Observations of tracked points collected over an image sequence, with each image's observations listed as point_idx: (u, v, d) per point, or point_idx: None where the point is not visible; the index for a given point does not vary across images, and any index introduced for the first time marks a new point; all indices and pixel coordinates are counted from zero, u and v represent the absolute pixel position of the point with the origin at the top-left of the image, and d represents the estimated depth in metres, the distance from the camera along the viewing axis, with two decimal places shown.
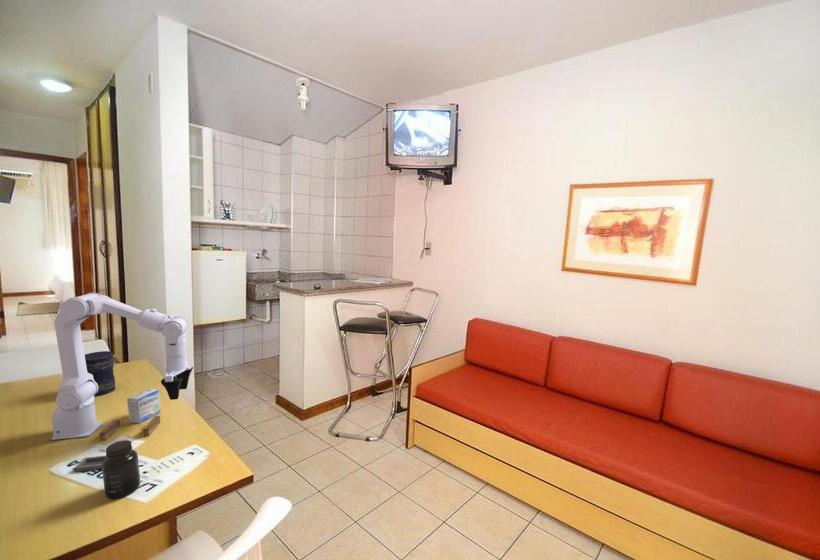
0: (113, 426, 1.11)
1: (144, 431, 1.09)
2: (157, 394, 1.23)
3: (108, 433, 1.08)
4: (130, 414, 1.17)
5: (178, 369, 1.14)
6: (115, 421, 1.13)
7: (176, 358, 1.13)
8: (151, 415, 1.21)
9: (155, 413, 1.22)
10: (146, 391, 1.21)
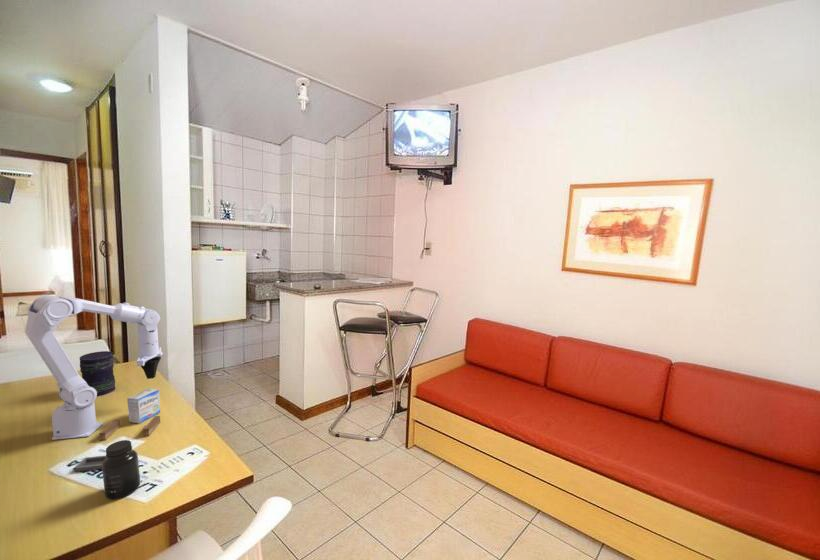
0: (113, 426, 1.11)
1: (144, 431, 1.09)
2: (157, 394, 1.23)
3: (108, 433, 1.08)
4: (130, 414, 1.17)
5: (150, 355, 1.24)
6: (115, 421, 1.13)
7: (147, 345, 1.24)
8: (151, 415, 1.21)
9: (155, 413, 1.22)
10: (146, 391, 1.21)
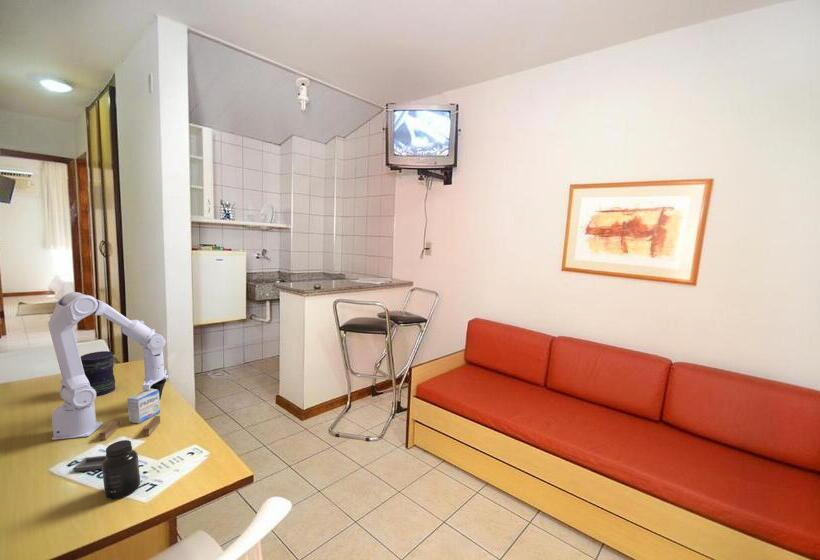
0: (113, 426, 1.11)
1: (144, 431, 1.09)
2: (157, 394, 1.23)
3: (108, 433, 1.08)
4: (130, 414, 1.17)
5: (155, 378, 1.26)
6: (115, 421, 1.13)
7: (153, 368, 1.25)
8: (151, 415, 1.21)
9: (155, 413, 1.22)
10: (146, 391, 1.21)
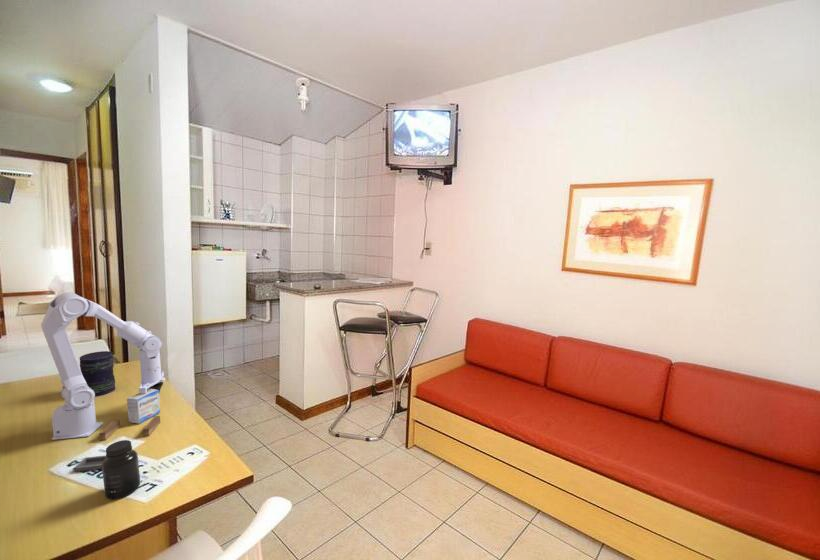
0: (113, 426, 1.11)
1: (144, 431, 1.09)
2: (157, 394, 1.22)
3: (108, 433, 1.08)
4: (130, 414, 1.17)
5: (152, 381, 1.23)
6: (115, 421, 1.13)
7: (150, 371, 1.23)
8: (151, 415, 1.20)
9: (155, 413, 1.22)
10: None
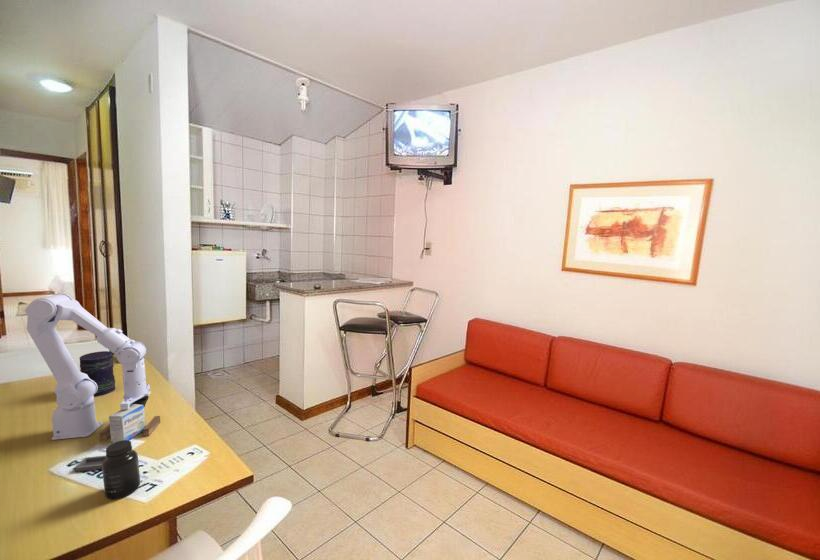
0: None
1: (144, 431, 1.09)
2: (142, 410, 1.12)
3: (108, 433, 1.08)
4: (113, 433, 1.06)
5: (136, 396, 1.12)
6: None
7: (133, 385, 1.12)
8: (136, 433, 1.10)
9: (140, 431, 1.11)
10: None
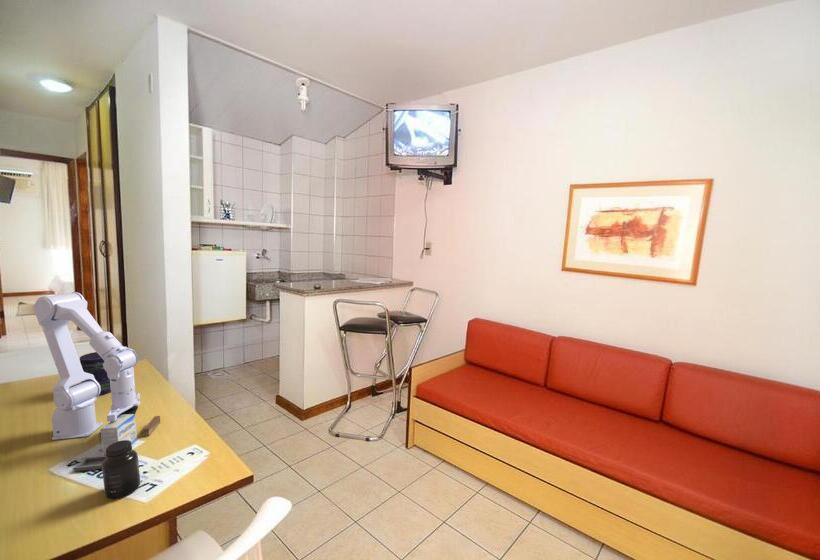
0: None
1: (144, 431, 1.09)
2: (134, 419, 1.06)
3: None
4: (105, 447, 0.99)
5: (124, 406, 1.06)
6: None
7: (121, 394, 1.05)
8: None
9: (132, 441, 1.05)
10: (120, 418, 1.04)
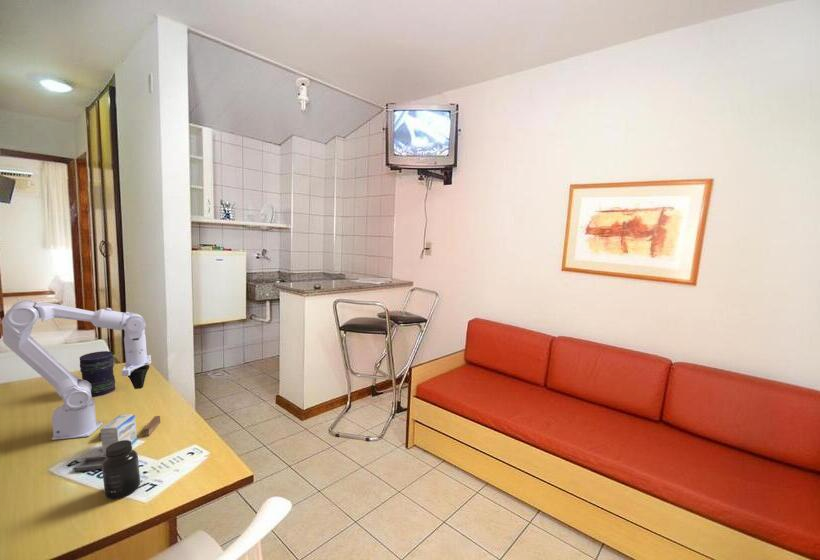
0: None
1: (144, 431, 1.09)
2: (134, 419, 1.06)
3: None
4: (105, 447, 0.99)
5: (136, 364, 1.17)
6: None
7: (134, 353, 1.16)
8: None
9: (132, 442, 1.05)
10: (120, 418, 1.04)
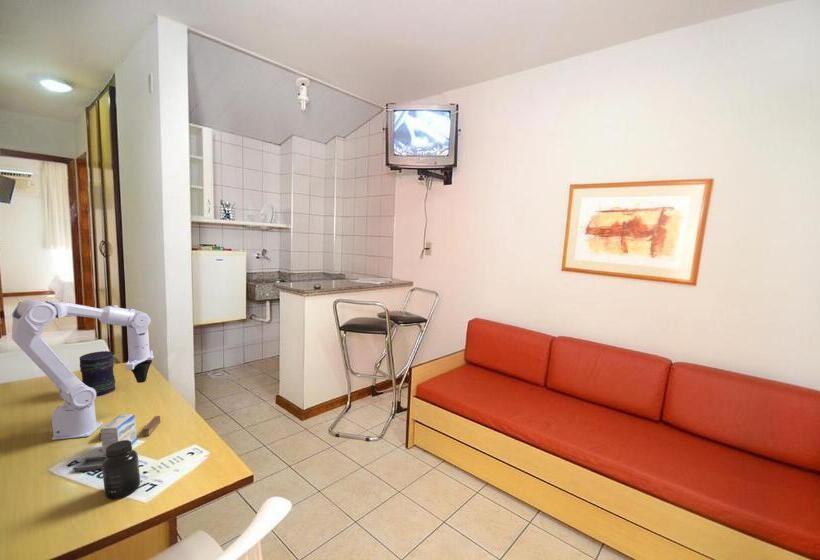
0: None
1: (144, 431, 1.09)
2: (133, 419, 1.06)
3: None
4: (105, 447, 0.99)
5: (140, 358, 1.21)
6: None
7: (138, 348, 1.20)
8: None
9: (132, 442, 1.05)
10: (120, 418, 1.04)
